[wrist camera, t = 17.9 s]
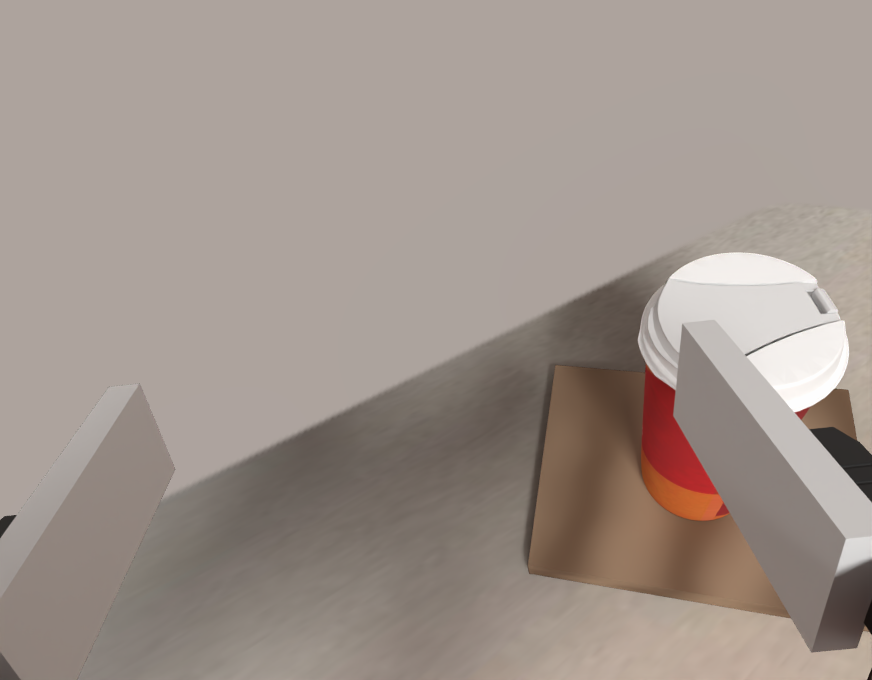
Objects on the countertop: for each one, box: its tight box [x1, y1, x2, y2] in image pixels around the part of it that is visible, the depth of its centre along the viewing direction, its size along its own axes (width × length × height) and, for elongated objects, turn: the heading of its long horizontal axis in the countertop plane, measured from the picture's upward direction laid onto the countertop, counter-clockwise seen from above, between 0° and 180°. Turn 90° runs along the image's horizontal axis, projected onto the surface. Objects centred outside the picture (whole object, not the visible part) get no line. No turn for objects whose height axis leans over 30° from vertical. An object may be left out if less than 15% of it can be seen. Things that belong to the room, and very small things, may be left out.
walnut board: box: [528, 365, 869, 632], centre depth 39 cm, size 18×14×2 cm
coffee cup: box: [638, 252, 849, 521], centre depth 32 cm, size 8×8×15 cm
